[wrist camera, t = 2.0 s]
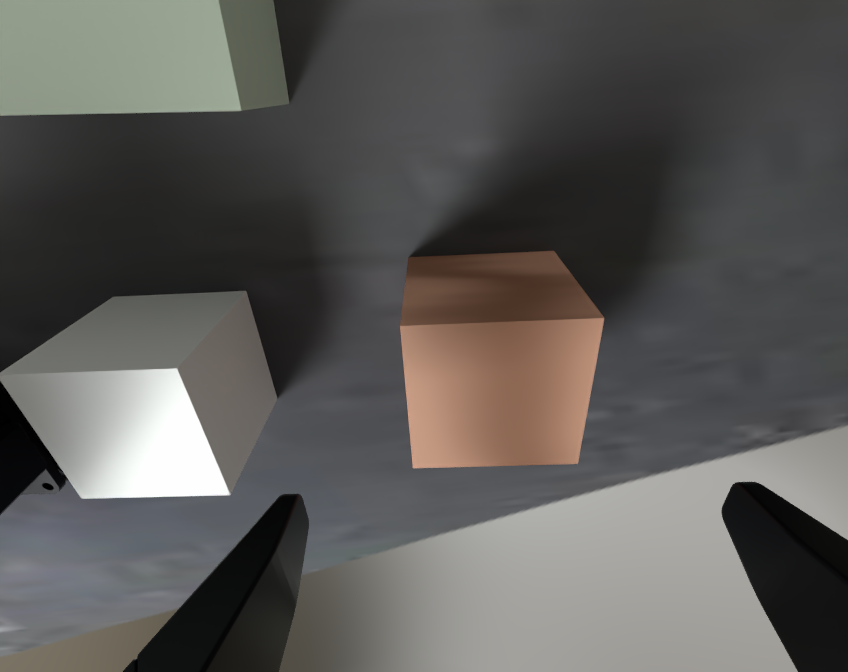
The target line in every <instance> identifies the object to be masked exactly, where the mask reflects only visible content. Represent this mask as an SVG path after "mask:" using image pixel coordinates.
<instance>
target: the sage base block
mask: <svg viewBox="0 0 848 672" xmlns="http://www.w3.org/2000/svg"><path fill="white" fill-rule="evenodd" d="M286 104H290V103H289V97H288V91H287V84H286V78H285V71H284V65H283V59H282V52H281V46H280V39H279V33H278V26H277V20H276V14H275V7H274V1H273V0H0V116H5V115H57V114H108V113H159V112H211V111H244V110H251V109H258V108H265V107H272V106H279V105H286Z"/></svg>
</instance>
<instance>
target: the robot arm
mask: <svg viewBox="0 0 848 672" xmlns="http://www.w3.org/2000/svg"><path fill="white" fill-rule="evenodd" d="M65 483H66V482H65V480H64V478H63V477H62V475H61V474H60V472H59V471H58V470H57V468H56V467H55V465H54V464H53V462H52V461H51V459H50V458H49V457H48V455H47V454H46V452H45V451H44V449H43V448H42V446H41V445H40V444H39V442H38V441H37V439H36V438H35V436H34V435H33V433H32V432H31V430H30V429H29V428H28V426H27V425H26V423H25V422H24V420H23V419H22V417H21V416H20V415H19V413H18V412H17V410H16V409H15V407H14V406H13V404H12V403H11V402H10V400H9V399H8V397H7V396H6V394H5V393H4V391H3V390H2V389H1V387H0V515H1V514H2V513H3V512H4V511H5V510H6V509H7V508H8V507H9V506H10V505H11V504H12V503H13V502H14V501H15V500H16V499H17V498H18V497H19V496H20V495H24V494H55V493H57V492H59V491H60V490H61V489H62V487H63V486H64V485H65ZM722 517H723V520H724V523H725V525H726V528H727V530H728V532H729V534H730V537H731V539H732V541H733V544H734V546H735V548H736V550H737V553H738V555H739V557H740V559H741V562H742V564H743V566H744V569H745V571H746V573H747V576H748V578H749V580H750V583H751V585H752V587H753V589H754V591H755V593H756V595H757V597H758V599H759V601H760V603H761V605H762V607H763V609H764V611H765V612H766V614H767V616H768V618H769V620H770V622H771V623H772V625H773V627H774V629H775V631H776V632H777V634H778V636H779V638H780V640H781V642H782V643H783V645H784V647H785V649H786V651H787V653H788V654H789V656H790V658H791V659H792V662H793V663H794V665H795V667H796V669H797V671H798V672H848V540H847V539H845V538H843V537H842V536H840V535H839V534H837V533H836V532H834V531H832V530H831V529H830V528H828V527H826V526H825V525H823V524H822V523H820V522H819V521H817V520H816V519H814V518H813V517H811V516H809V515H808V514H806V513H805V512H803V511H802V510H800V509H799V508H797V507H795V506H794V505H792V504H791V503H789V502H788V501H786V500H784V499H783V498H782V497H780V496H778V495H777V494H775V493H774V492H772V491H771V490H769V489H767V488H766V487H764V486H763V485H761V484H759V483H756V482H737V483H735V484H733V485H732V487H731V489H730V491H729V493H728V495H727V498H726V500H725V502H724V504H723V507H722ZM308 529H309V520H308V515H307V512H306V508H305V505H304V502H303V498H302V496H301V495H300V494H283V495H281V496H279V497H278V498H277V499H276V501H275V502H274V503H273V504H272V505H271V506H270V507H269V508H268V510H267V511H266V512H265V513H264V514H263V515H262V516H261V517H260V519H259V520H258V521H257V522H256V523H255V524H254V525H253V526H252V527H251V529H250V530H249V531H248V532H247V533H246V534H245V535H244V536H243V538H242V539H241V540H240V541H239V542H238V543H237V544H236V545H235V547H234V548H233V549H232V550H231V551H230V552H229V553H228V554H227V555H226V557H225V558H224V559H223V560H222V561H221V562H220V563H219V564H218V566H217V567H216V568H215V569H214V570H213V571H212V572H211V573H210V575H209V576H208V577H207V578H206V579H205V580H204V581H203V582H202V584H201V585H200V586H199V587H198V588H197V589H196V590H195V591H194V592H193V594H192V595H191V596H190V597H189V598H188V599H187V600H186V601H185V603H184V604H183V605H182V606H181V607H180V608H179V609H178V610H177V612H176V613H175V614H174V615H173V616H172V617H171V618H170V619H169V620H168V622H167V623H166V624H165V625H164V626H163V627H162V628H161V629H160V631H159V632H158V633H157V634H156V635H155V636H154V637H153V638H152V640H151V641H150V642H149V643H148V644H147V645H146V646H145V647H144V649H143V650H142V651H141V652H140V653H139V654H138V657H137V659H134V660H133V661H132V662H131V663H130V664H129V665H128V666H127V667H126V668H125V670H124V671H123V672H279V670H280V665H281V662H282V658H283V654H284V650H285V647H286V643H287V639H288V635H289V632H290V628H291V624H292V620H293V617H294V612H295V608H296V604H297V598H298V592H299V586H300V580H301V574H302V567H303V561H304V555H305V548H306V542H307V536H308Z"/></svg>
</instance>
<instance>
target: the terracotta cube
mask: <svg viewBox="0 0 848 672" xmlns="http://www.w3.org/2000/svg"><path fill="white" fill-rule="evenodd" d="M603 323H604V317H603V315H602V314H601V313H600V311H599V310H598V309H597V307H596V306H595V305H594V303H593V302H592V301H591V299H590V298H589V297H588V295H587V294H586V293H585V291H584V290H583V289H582V287H581V286H580V285H579V283H578V282H577V281H576V279H575V278H574V277H573V275H572V274H571V273H570V271H569V270H568V269H567V267H566V266H565V265H564V263H563V262H562V261H561V259H560V258H559V257H558V255H557V254H556V253H555V251H538V252H515V253H493V254H470V255H448V256H425V257H409V258H408V266H407V274H406V282H405V290H404V299H403V307H402V315H401V323H400V330H401V341H402V352H403V363H404V374H405V385H406V396H407V407H408V418H409V429H410V440H411V451H412V462H413V468H441V467H478V466H514V465H551V464H578V460H579V454H580V449H581V443H582V438H583V432H584V427H585V421H586V416H587V411H588V405H589V400H590V394H591V389H592V383H593V378H594V372H595V367H596V361H597V356H598V350H599V345H600V340H601V334H602V329H603Z"/></svg>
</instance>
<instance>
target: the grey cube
mask: <svg viewBox="0 0 848 672" xmlns="http://www.w3.org/2000/svg"><path fill="white" fill-rule="evenodd" d="M0 381H1V383H2V384H3V385H4V387H5V388H6V390H7V391H8V393H9V394H10V396H11V397H12V398H13V400H14V401H15V403H16V404H17V406H18V407H19V409H20V410H21V412H22V413H23V414H24V416H25V417H26V419H27V420H28V422H29V423H30V425H31V426H32V427H33V429H34V430H35V432H36V433H37V435H38V436H39V438H40V439H41V441H42V442H43V443H44V445H45V446H46V448H47V449H48V451H49V452H50V454H51V455H52V456H53V458H54V459H55V461H56V462H57V464H58V465H59V467H60V468H61V469H62V471H63V472H64V474H65V475H66V477H67V478H68V480H69V481H70V483H71V484H72V485H73V487H74V488H75V490H76V491H77V493H78V494H79V496H80V497H81V498H82V499H88V498H129V497H169V496H209V495H231V493H232V491H233V489H234V487H235V485H236V483H237V481H238V479H239V476H240V474H241V472H242V470H243V468H244V466H245V464H246V462H247V460H248V458H249V456H250V454H251V452H252V450H253V448H254V446H255V444H256V442H257V440H258V438H259V435H260V433H261V431H262V429H263V427H264V425H265V423H266V421H267V419H268V417H269V415H270V413H271V411H272V409H273V407H274V405H275V403H276V401H277V395H276V392H275V389H274V385H273V382H272V378H271V375H270V371H269V368H268V364H267V361H266V357H265V354H264V351H263V347H262V344H261V340H260V337H259V333H258V330H257V326H256V323H255V319H254V316H253V313H252V309H251V306H250V302H249V299H248V295H247V292H246V291H231V292H209V293H187V294H164V295H142V296H120V297H112V298H111V299H109V300H108V301H106V302H105V303H103V304H102V305H100V306H99V307H97V308H96V309H94V310H93V311H91V312H90V313H88V314H87V315H85V316H84V317H82V318H81V319H79V320H78V321H76V322H75V323H73V324H72V325H70V326H69V327H67V328H66V329H64V330H63V331H61V332H60V333H58V334H57V335H55V336H54V337H53V338H51V339H50V340H48V341H47V342H45V343H44V344H42V345H41V346H39V347H38V348H36V349H35V350H33V351H32V352H30V353H29V354H27V355H26V356H24V357H23V358H21V359H20V360H18V361H17V362H15V363H14V364H12V365H11V366H9V367H8V368H6V369H5V370H3V371H2V372H0Z"/></svg>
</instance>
